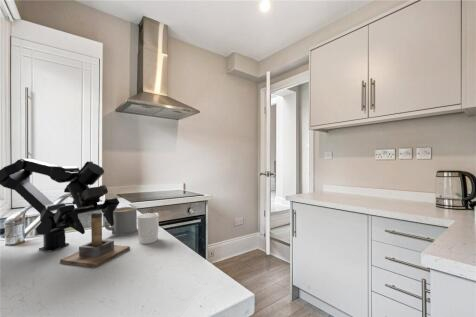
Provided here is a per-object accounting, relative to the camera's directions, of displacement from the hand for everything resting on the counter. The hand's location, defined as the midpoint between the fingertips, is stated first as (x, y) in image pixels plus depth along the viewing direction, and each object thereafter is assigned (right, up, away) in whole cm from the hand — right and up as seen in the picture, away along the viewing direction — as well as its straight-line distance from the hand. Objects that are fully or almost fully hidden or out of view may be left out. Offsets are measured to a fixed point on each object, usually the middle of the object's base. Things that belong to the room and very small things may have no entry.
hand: (99, 229), depth 74 cm
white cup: (+11, -9, +14) cm, 20 cm away
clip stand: (-1, -9, +1) cm, 9 cm away
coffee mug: (-6, -10, +25) cm, 27 cm away
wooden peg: (-1, -8, +1) cm, 8 cm away
